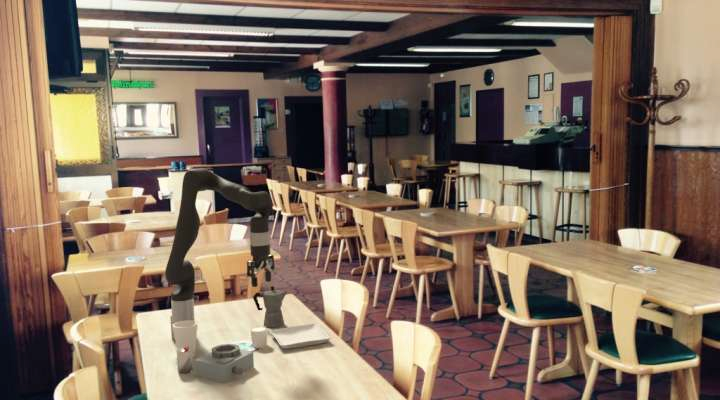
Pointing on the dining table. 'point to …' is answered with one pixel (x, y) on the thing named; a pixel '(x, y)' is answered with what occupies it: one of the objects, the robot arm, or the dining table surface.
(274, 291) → the coffeepot
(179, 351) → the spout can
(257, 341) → the cream short cylinder
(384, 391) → the dining table surface
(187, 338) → the foam cup
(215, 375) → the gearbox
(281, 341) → the salad plate
